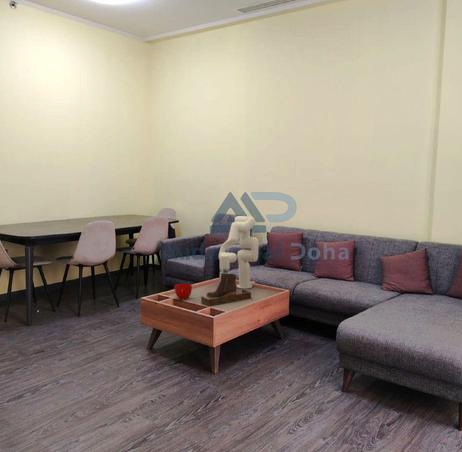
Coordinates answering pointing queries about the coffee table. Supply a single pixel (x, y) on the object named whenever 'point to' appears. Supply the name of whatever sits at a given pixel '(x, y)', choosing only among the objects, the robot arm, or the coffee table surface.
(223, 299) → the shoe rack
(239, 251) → the robot arm
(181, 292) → the ceramic cup
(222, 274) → the boot
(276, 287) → the coffee table surface
